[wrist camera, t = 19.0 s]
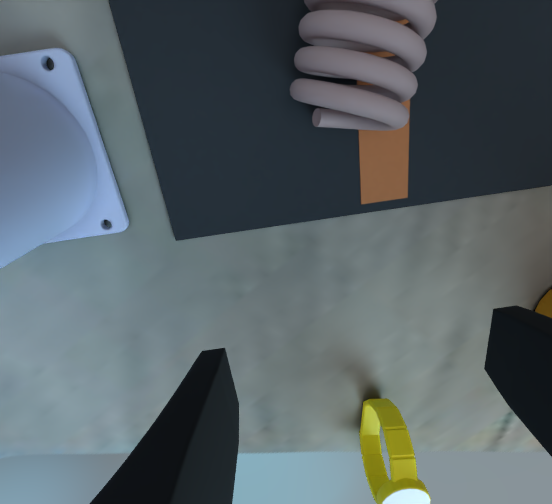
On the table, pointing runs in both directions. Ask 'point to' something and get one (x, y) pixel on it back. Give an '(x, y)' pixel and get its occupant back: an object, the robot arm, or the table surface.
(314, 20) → the coil
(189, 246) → the table surface
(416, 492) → the watch
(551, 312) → the flashlight
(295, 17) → the mat
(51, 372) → the table surface
